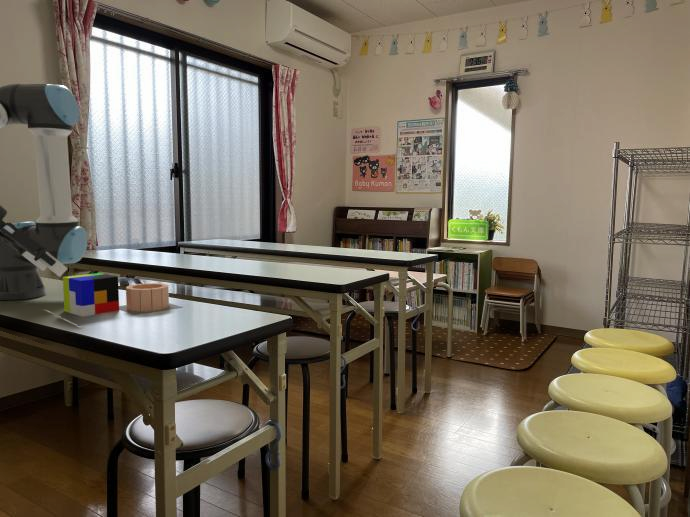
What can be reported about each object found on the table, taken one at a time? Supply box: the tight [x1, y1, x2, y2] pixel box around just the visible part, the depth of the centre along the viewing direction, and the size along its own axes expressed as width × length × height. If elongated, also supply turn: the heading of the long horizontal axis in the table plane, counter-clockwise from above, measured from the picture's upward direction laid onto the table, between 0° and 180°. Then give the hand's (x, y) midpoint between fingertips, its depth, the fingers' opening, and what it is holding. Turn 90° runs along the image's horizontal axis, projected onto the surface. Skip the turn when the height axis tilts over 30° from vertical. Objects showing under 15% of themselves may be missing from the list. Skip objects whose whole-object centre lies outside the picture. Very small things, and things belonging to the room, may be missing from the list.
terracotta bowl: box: [125, 282, 170, 312], centre depth 143 cm, size 11×11×6 cm
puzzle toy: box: [62, 272, 120, 318], centre depth 137 cm, size 10×10×10 cm
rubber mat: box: [119, 302, 184, 316], centre depth 143 cm, size 14×14×1 cm
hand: (54, 269), depth 130 cm, fingers open, 13 cm apart
